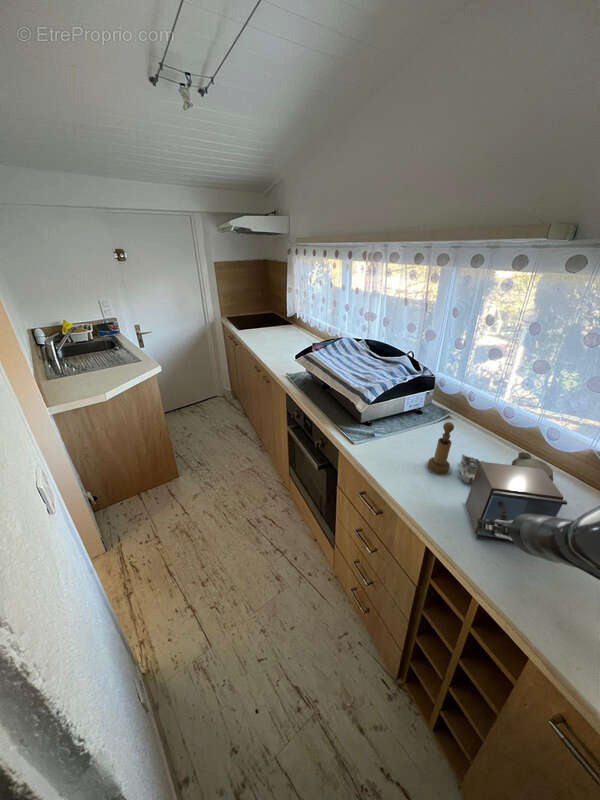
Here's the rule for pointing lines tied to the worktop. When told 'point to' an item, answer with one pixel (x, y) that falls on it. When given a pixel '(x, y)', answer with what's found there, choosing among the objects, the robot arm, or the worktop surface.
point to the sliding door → (503, 510)
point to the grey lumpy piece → (468, 468)
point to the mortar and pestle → (442, 452)
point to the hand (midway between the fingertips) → (502, 527)
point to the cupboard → (512, 492)
